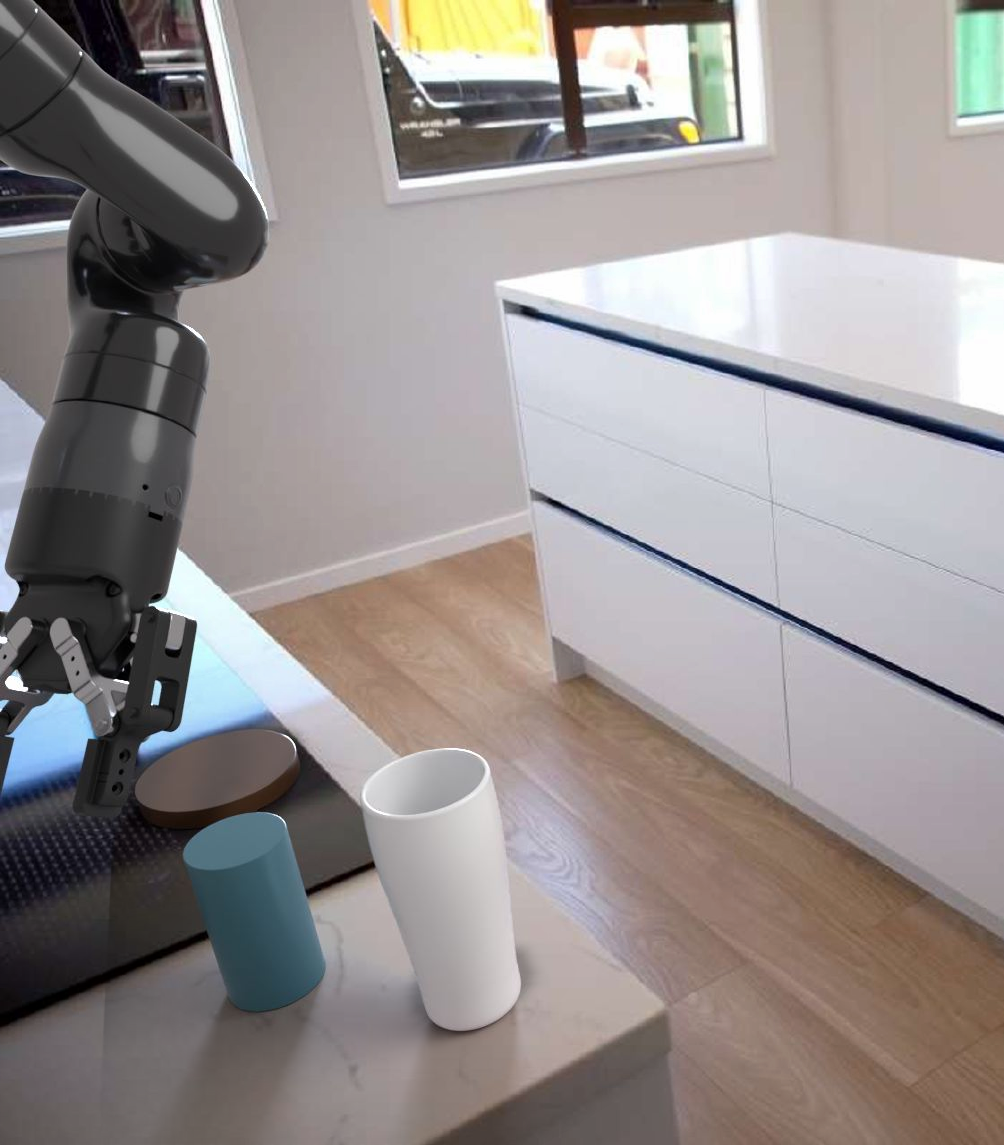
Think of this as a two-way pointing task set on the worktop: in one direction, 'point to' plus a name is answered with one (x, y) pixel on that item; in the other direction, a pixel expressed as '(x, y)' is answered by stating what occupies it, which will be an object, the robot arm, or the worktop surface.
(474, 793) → the drinking glass
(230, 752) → the walnut disc
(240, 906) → the cylinder
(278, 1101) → the worktop surface
